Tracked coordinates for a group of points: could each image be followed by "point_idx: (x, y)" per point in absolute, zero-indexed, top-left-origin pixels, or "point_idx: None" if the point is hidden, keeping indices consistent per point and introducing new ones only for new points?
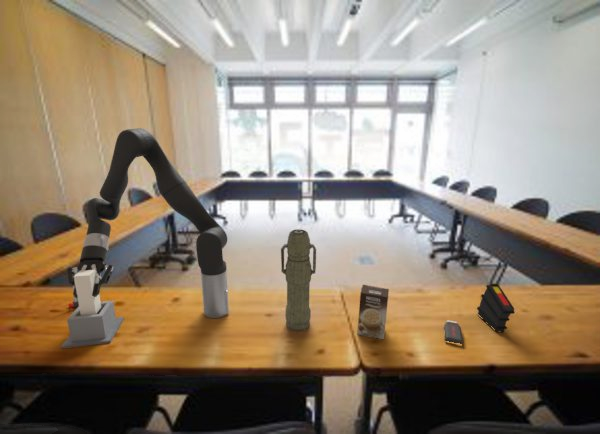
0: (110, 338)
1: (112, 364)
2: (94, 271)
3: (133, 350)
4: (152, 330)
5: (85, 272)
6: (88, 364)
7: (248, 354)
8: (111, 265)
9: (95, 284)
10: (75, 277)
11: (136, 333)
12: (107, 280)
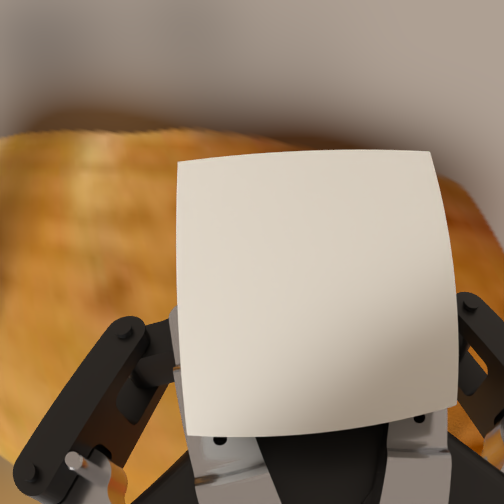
0: None
1: (160, 131)
2: (188, 385)
3: (118, 183)
4: (85, 283)
5: (322, 312)
6: (225, 133)
7: None
8: (15, 478)
9: None
10: (399, 157)
11: (128, 274)
12: (129, 381)
